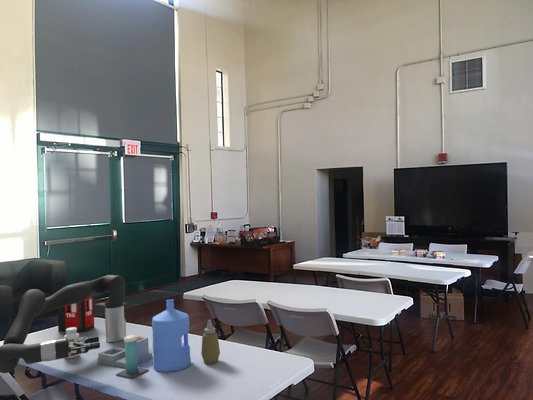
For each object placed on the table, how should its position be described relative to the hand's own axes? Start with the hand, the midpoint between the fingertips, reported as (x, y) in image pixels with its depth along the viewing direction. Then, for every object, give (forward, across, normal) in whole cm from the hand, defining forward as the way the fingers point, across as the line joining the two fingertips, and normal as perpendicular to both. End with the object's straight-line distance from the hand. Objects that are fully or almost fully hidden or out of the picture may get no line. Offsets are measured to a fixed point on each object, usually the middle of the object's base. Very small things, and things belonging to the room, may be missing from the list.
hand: (99, 341), depth 175 cm
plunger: (+16, -15, -10) cm, 24 cm away
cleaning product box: (-10, -82, -15) cm, 83 cm away
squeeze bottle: (+44, +5, -16) cm, 47 cm away
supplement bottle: (-11, -34, -14) cm, 39 cm away
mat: (+12, +1, -15) cm, 19 cm away
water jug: (+28, +1, -16) cm, 32 cm away
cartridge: (+12, +1, -14) cm, 18 cm away
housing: (+10, -16, -15) cm, 24 cm away
